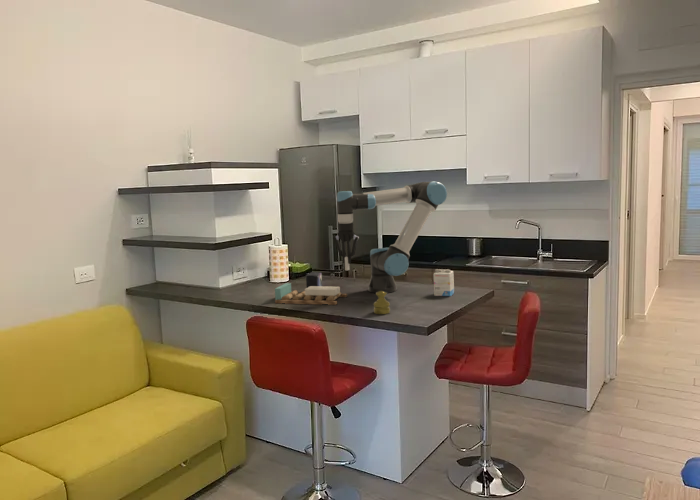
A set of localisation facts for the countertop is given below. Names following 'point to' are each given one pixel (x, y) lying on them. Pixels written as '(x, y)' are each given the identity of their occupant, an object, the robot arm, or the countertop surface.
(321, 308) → the countertop surface
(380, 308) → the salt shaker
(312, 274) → the small box
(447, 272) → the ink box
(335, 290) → the slab
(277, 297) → the block
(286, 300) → the roller bed
